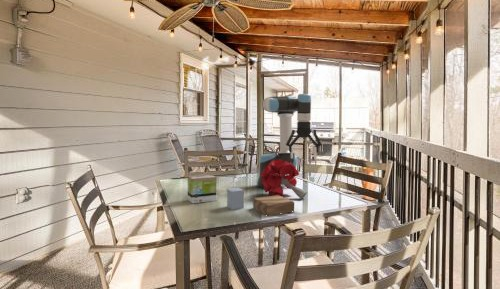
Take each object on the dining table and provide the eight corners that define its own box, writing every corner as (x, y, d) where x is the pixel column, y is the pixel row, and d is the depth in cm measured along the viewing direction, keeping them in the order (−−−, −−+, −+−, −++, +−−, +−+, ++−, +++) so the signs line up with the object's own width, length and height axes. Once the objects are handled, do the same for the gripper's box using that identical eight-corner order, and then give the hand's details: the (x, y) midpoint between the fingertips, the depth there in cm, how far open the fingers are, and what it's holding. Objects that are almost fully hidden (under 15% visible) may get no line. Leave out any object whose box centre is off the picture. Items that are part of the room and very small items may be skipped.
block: (227, 206, 175) (226, 188, 175) (238, 204, 178) (238, 187, 178) (232, 209, 169) (231, 191, 168) (243, 208, 172) (243, 190, 171)
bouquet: (302, 204, 204) (266, 177, 215) (319, 175, 195) (281, 149, 206) (288, 215, 186) (250, 185, 197) (307, 183, 177) (265, 154, 188)
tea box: (192, 204, 180) (192, 178, 179) (187, 200, 189) (187, 175, 188) (217, 200, 187) (216, 176, 186) (211, 197, 196) (210, 173, 195)
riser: (253, 208, 172) (253, 198, 172) (278, 205, 179) (278, 194, 179) (267, 217, 158) (267, 205, 157) (294, 212, 165) (294, 201, 164)
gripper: (283, 121, 175) (283, 159, 177) (327, 121, 177) (326, 158, 179) (281, 121, 183) (280, 157, 185) (323, 121, 185) (322, 156, 187)
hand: (303, 158), depth 182 cm, fingers open, 13 cm apart
